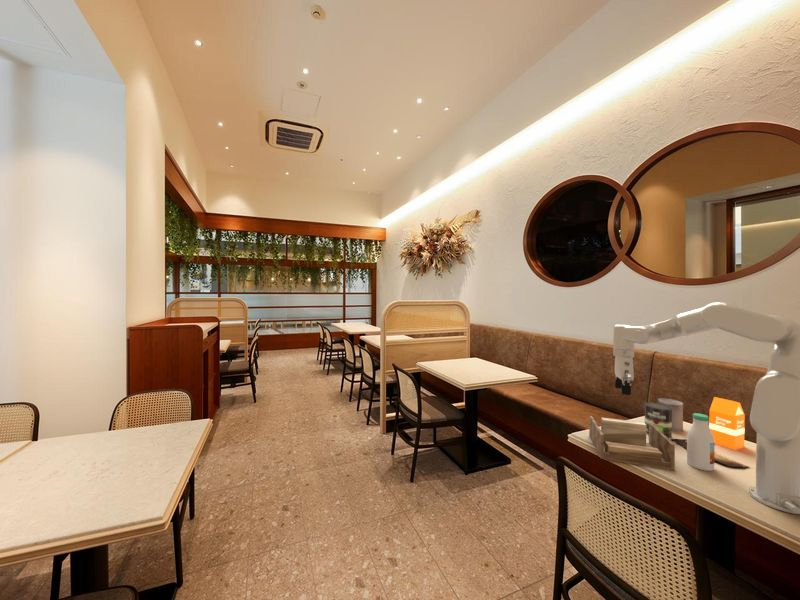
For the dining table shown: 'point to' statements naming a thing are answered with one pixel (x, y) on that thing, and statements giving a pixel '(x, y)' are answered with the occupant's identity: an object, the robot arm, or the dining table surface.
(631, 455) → the offcut lower
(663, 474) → the dining table surface
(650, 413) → the coffee can
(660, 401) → the pillar candle
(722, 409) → the orange juice
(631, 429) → the birch panel
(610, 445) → the offcut upper
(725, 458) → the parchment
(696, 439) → the milk bottle
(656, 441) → the rack
